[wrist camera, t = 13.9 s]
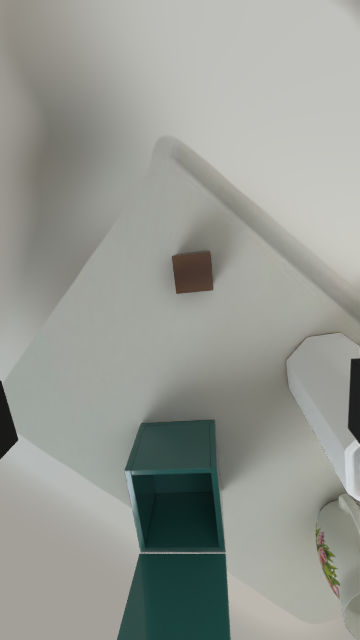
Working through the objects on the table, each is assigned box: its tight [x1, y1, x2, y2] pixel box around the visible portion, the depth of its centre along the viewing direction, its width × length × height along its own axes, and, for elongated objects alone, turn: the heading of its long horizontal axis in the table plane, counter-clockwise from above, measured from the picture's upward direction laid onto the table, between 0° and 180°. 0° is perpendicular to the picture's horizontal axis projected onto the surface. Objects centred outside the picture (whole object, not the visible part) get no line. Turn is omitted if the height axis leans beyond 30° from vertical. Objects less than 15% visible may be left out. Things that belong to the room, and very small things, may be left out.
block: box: [172, 251, 213, 294], centre depth 37 cm, size 4×4×4 cm
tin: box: [125, 420, 225, 552], centre depth 42 cm, size 14×12×10 cm
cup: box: [286, 333, 360, 501], centre depth 32 cm, size 11×11×18 cm
